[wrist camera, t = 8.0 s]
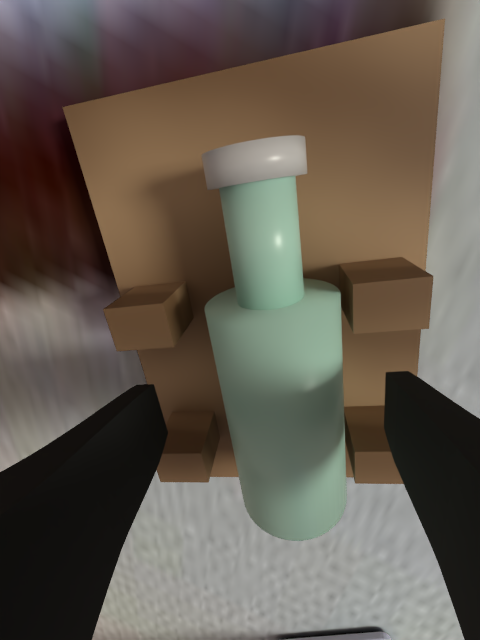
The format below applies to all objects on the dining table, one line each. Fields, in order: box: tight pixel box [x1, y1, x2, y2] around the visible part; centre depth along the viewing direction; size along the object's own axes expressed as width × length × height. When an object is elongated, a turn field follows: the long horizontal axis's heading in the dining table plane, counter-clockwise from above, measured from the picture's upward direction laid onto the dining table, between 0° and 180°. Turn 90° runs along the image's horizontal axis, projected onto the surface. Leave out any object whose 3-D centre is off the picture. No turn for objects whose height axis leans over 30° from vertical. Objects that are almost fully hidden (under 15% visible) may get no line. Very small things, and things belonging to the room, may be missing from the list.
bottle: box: [201, 135, 347, 541], centre depth 10 cm, size 12×4×4 cm, turn 9°
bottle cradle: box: [63, 19, 445, 484], centre depth 11 cm, size 16×11×3 cm
